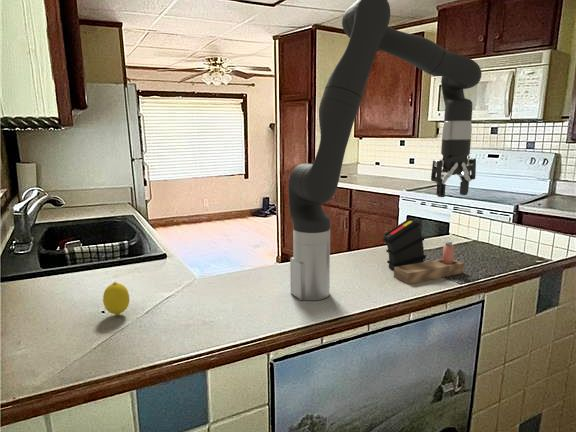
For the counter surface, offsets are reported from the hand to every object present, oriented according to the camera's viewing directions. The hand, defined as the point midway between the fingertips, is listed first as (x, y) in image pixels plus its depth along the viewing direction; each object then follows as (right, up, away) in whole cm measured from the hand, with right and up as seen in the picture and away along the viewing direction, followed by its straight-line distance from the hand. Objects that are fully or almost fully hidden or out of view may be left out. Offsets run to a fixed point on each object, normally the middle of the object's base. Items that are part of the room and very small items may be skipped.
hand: (452, 195), depth 120 cm
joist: (-5, -23, +2) cm, 23 cm away
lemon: (-86, -29, -23) cm, 93 cm away
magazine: (-12, -22, +9) cm, 26 cm away
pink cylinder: (0, -22, +5) cm, 23 cm away
